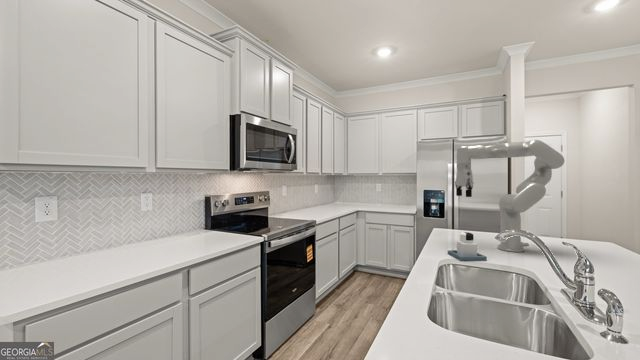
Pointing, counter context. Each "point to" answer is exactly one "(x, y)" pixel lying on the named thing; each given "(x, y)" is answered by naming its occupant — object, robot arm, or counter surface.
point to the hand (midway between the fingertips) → (463, 196)
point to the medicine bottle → (466, 245)
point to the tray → (467, 258)
